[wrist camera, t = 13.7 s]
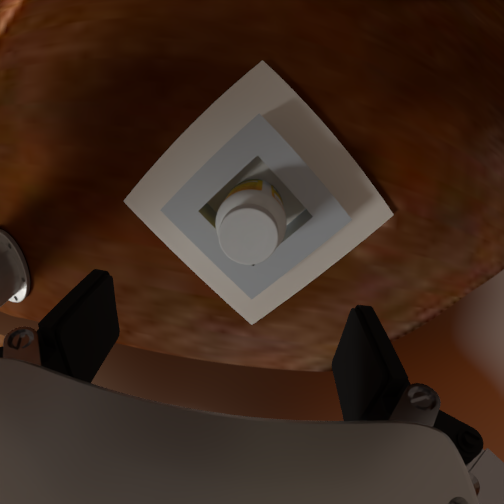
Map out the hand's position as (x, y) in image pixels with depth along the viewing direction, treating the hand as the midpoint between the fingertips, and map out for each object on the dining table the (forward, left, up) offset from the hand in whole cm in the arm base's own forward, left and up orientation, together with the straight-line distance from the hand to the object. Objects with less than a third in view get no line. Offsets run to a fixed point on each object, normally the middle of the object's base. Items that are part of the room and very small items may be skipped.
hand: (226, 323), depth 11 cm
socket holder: (0, 0, -20) cm, 20 cm away
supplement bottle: (0, 0, -19) cm, 19 cm away
